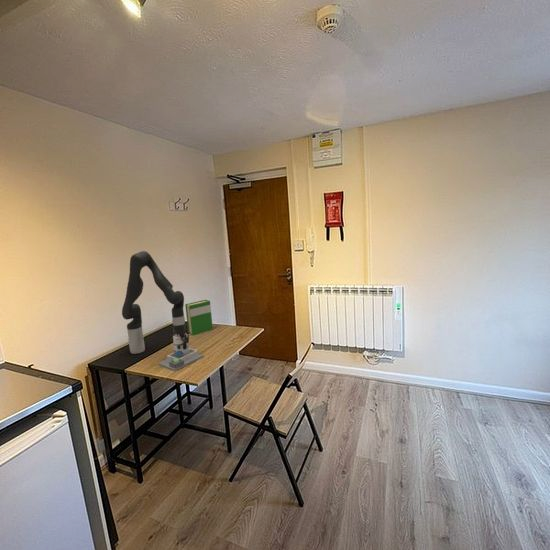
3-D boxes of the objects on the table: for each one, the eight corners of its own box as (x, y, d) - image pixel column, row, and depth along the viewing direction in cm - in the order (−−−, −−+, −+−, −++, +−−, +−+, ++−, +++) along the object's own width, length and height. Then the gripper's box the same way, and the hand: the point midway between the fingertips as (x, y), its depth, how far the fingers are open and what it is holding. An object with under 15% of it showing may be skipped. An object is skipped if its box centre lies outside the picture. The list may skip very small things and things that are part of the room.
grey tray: (157, 365, 187) (157, 358, 186) (186, 351, 204) (186, 346, 204) (175, 371, 177) (174, 365, 176) (203, 356, 195) (203, 351, 194)
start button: (172, 365, 182) (172, 359, 181) (177, 362, 184) (176, 357, 184) (176, 366, 180) (175, 360, 179) (180, 364, 182) (180, 358, 182)
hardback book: (192, 335, 235) (189, 305, 231) (188, 333, 240) (185, 304, 236) (212, 329, 246) (210, 301, 242) (208, 327, 251) (205, 299, 247)
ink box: (176, 355, 189) (174, 338, 187) (174, 353, 193) (172, 335, 191) (190, 352, 194) (188, 334, 192) (187, 349, 198) (185, 332, 196)
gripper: (166, 323, 191) (169, 348, 194) (181, 326, 183) (184, 352, 186) (176, 319, 197) (179, 344, 200) (191, 322, 189) (193, 348, 192)
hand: (181, 348), depth 193 cm, fingers closed on ink box, 6 cm apart
